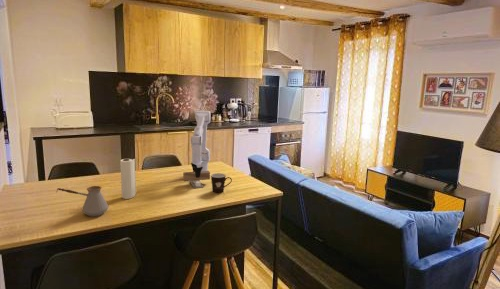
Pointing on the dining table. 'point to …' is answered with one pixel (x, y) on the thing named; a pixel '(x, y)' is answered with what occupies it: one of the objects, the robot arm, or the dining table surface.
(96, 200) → the coffee pot
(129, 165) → the paper towel roll
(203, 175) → the walnut bar
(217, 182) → the coffee mug
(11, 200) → the dining table surface
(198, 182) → the ridge
